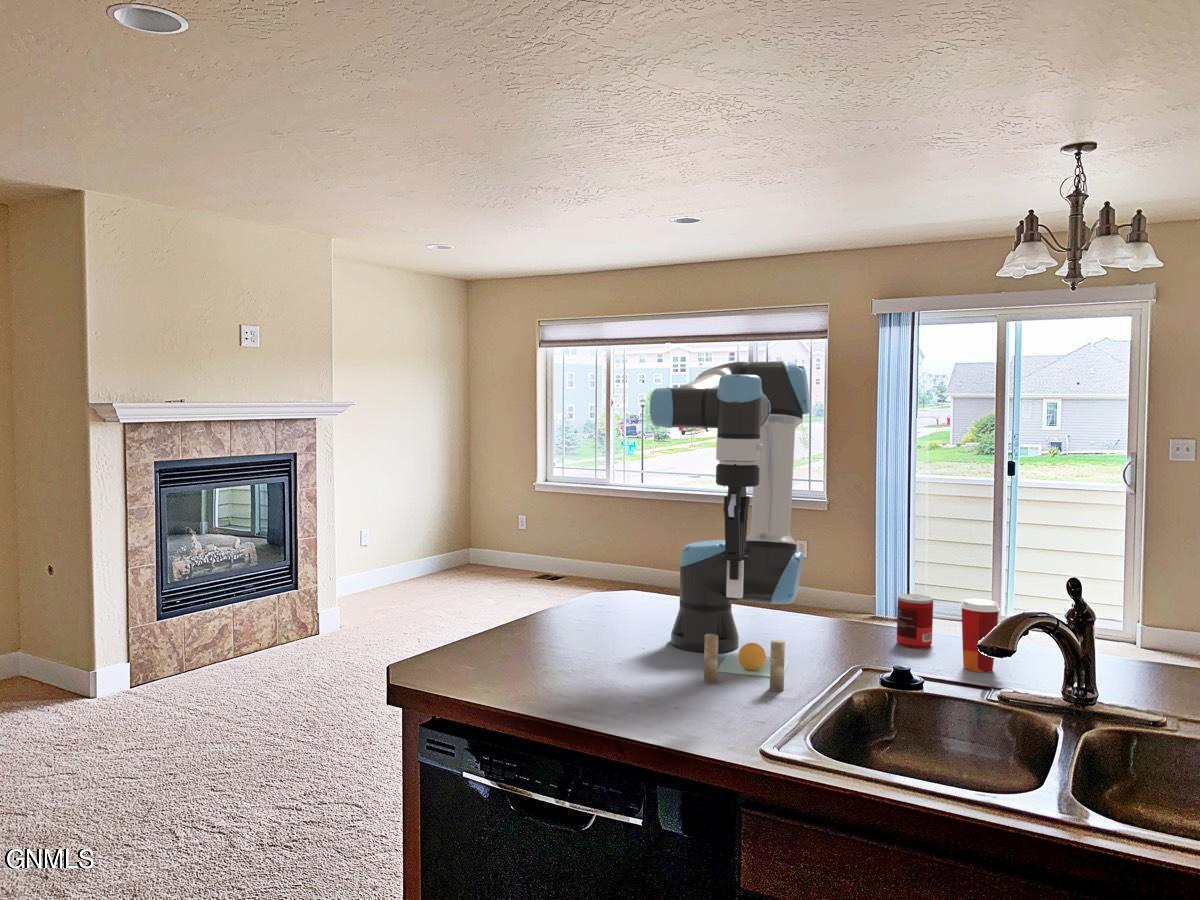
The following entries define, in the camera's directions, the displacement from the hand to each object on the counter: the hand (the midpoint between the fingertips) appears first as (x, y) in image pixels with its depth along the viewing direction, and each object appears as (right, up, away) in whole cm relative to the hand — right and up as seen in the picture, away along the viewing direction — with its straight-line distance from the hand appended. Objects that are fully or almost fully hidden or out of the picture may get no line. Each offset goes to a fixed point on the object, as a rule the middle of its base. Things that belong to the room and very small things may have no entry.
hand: (734, 596), depth 156 cm
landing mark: (+8, -19, +26) cm, 33 cm away
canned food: (+48, -19, +47) cm, 70 cm away
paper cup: (+55, -20, +28) cm, 65 cm away
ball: (+7, -16, +24) cm, 29 cm away
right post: (+10, -19, +11) cm, 24 cm away
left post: (-2, -19, +15) cm, 24 cm away
